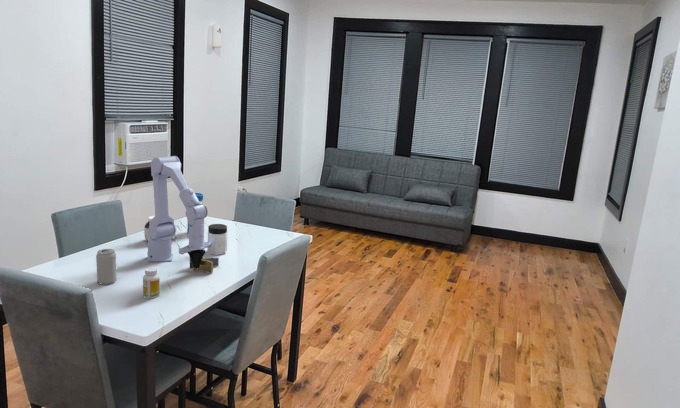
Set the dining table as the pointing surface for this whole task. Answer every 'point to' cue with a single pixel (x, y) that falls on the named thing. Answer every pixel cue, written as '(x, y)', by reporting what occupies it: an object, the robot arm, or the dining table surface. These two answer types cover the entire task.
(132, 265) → the dining table surface
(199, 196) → the beverage bottle
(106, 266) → the beverage can
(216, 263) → the hinge base
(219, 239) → the jar
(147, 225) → the spread jar
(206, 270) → the brass leaf
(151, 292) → the supplement bottle
